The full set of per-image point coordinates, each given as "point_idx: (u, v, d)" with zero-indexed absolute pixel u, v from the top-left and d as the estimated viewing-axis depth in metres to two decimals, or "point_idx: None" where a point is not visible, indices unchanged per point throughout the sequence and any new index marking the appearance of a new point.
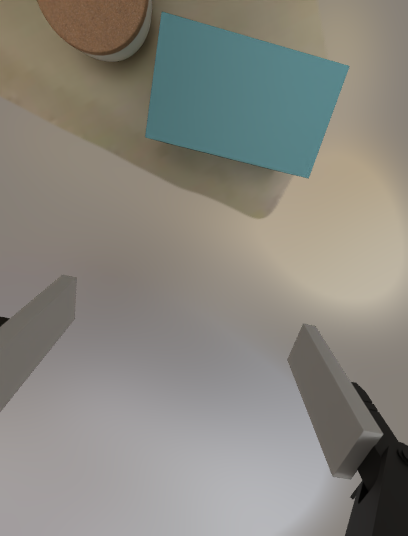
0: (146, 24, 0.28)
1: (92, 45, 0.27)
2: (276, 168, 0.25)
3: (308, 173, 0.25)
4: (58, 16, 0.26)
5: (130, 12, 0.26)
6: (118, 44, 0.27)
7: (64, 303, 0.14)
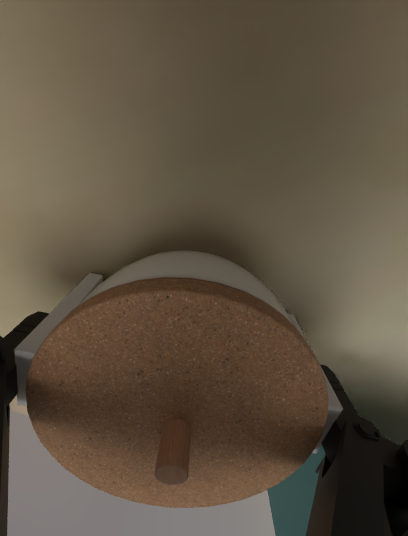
0: None
1: (172, 504, 0.11)
2: None
3: None
4: (96, 473, 0.11)
5: (273, 469, 0.10)
6: (232, 500, 0.11)
7: None
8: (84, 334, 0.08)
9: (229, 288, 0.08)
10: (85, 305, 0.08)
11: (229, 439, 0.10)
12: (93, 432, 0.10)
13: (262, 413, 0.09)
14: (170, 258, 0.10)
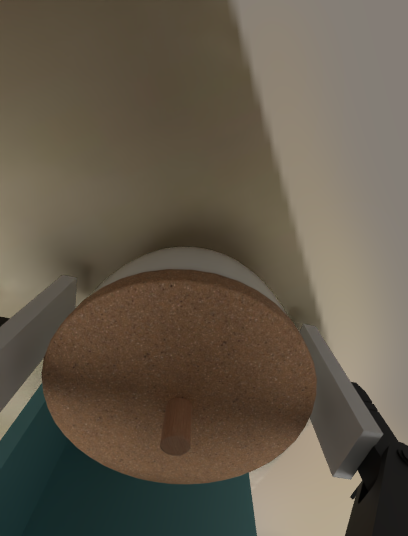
0: None
1: (175, 480, 0.12)
2: None
3: None
4: (105, 450, 0.11)
5: (268, 446, 0.11)
6: (230, 476, 0.12)
7: (64, 303, 0.14)
8: (96, 320, 0.09)
9: (226, 278, 0.09)
10: (97, 294, 0.09)
11: (226, 417, 0.11)
12: (103, 412, 0.11)
13: (256, 392, 0.10)
14: (172, 253, 0.11)
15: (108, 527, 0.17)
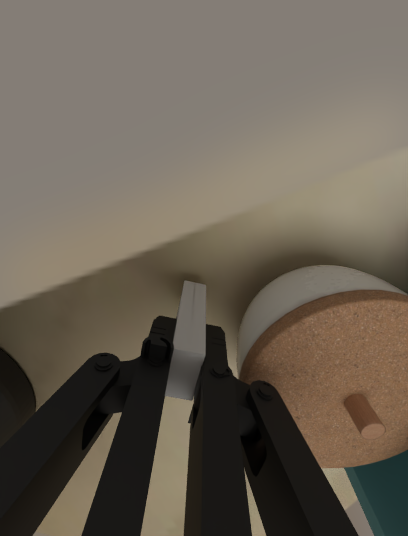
0: (397, 288, 0.13)
1: None
2: None
3: None
4: (392, 446, 0.14)
5: None
6: None
7: None
8: None
9: (246, 360, 0.13)
10: None
11: (376, 371, 0.12)
12: (348, 444, 0.14)
13: (350, 352, 0.11)
14: (236, 361, 0.16)
15: None
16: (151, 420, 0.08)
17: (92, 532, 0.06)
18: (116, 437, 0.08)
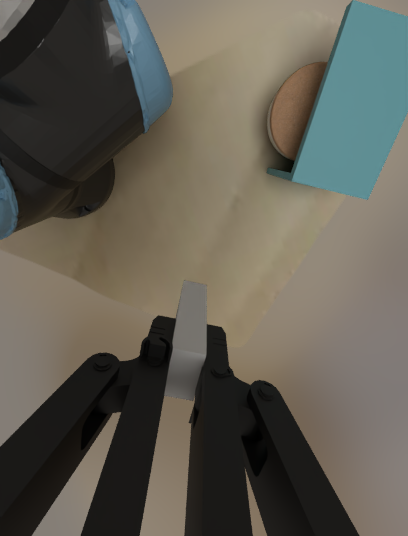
0: None
1: None
2: None
3: None
4: None
5: None
6: None
7: None
8: (280, 139, 0.33)
9: (273, 99, 0.33)
10: (274, 139, 0.34)
11: None
12: None
13: (313, 86, 0.31)
14: (267, 121, 0.35)
15: None
16: (151, 420, 0.08)
17: (91, 532, 0.06)
18: (115, 437, 0.08)
